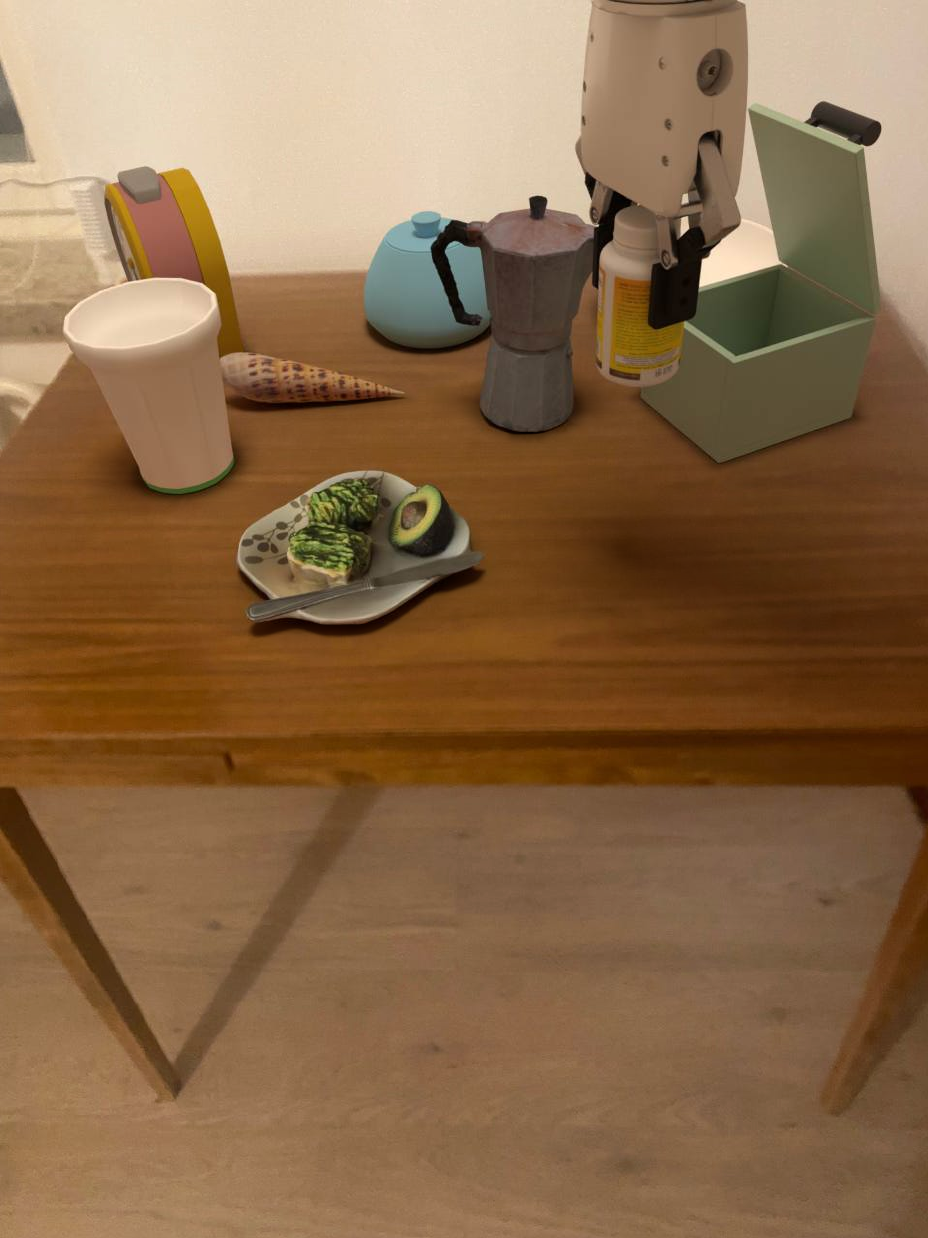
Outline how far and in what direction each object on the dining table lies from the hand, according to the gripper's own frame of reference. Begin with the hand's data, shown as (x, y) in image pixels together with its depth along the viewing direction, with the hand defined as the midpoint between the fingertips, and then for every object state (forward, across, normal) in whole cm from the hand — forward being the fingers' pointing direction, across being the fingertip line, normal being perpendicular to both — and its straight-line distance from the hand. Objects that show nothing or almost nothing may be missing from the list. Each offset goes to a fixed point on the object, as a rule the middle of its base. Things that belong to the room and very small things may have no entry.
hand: (642, 299), depth 62 cm
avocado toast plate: (+22, +11, +18) cm, 30 cm away
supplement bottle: (+5, 0, 0) cm, 5 cm away
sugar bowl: (+22, +44, -4) cm, 49 cm away
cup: (+22, +30, +27) cm, 46 cm away
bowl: (+22, +30, -28) cm, 46 cm away
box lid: (+4, +12, -25) cm, 29 cm away
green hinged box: (+21, +12, -21) cm, 33 cm away
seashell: (+22, +35, +13) cm, 43 cm away
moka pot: (+22, +23, -4) cm, 32 cm away
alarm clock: (+21, +53, +21) cm, 61 cm away
